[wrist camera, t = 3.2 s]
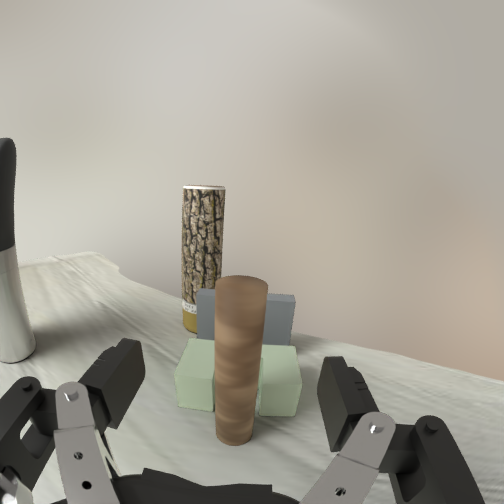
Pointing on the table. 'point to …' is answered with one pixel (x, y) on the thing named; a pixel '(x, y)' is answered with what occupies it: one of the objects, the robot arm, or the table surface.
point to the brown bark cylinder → (200, 244)
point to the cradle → (269, 384)
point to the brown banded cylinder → (237, 354)
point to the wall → (275, 317)
